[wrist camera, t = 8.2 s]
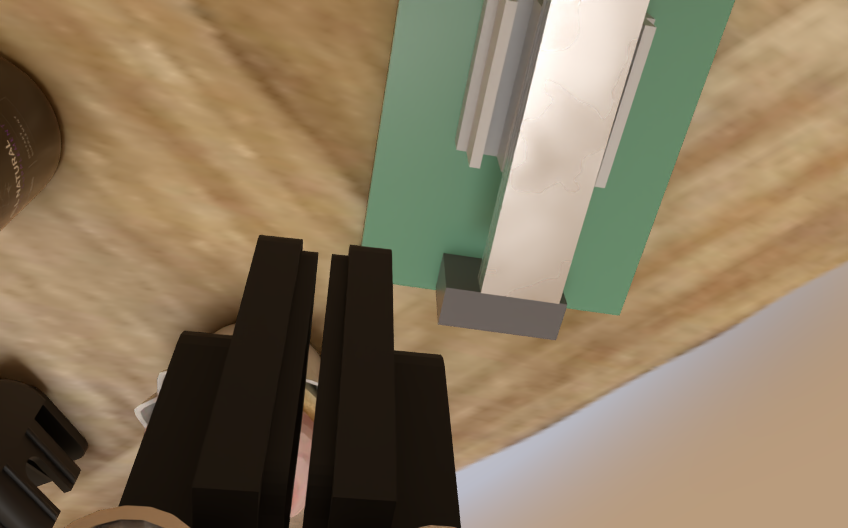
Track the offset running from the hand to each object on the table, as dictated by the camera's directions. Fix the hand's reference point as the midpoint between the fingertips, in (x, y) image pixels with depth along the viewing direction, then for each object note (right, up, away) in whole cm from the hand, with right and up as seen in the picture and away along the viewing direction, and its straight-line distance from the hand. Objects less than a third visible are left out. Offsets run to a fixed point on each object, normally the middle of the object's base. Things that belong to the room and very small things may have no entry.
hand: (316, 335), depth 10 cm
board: (+6, +9, +20) cm, 23 cm away
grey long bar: (+6, +7, +16) cm, 19 cm away
